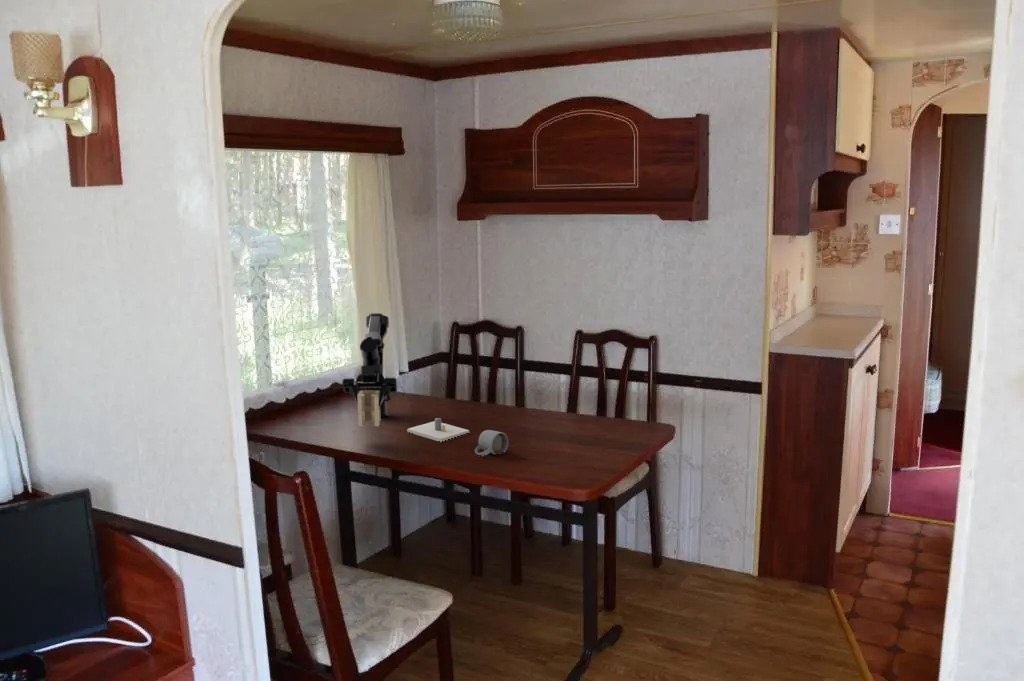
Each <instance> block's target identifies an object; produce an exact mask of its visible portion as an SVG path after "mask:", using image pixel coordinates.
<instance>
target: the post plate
mask: <svg viewBox="0 0 1024 681" xmlns="http://www.w3.org/2000/svg"><path fill="white" fill-rule="evenodd" d="M406 431H407V433H409V432H410V434H412V433H413V435H416V436H419V437H423V438H426V439H429V440H433V441H437V442H439V441H440V443H442V441H443V442H446V441H449V440H448V439H450V440H452V439H451V438H453V439H455V438H454V437H456V438H458V437H457V436H460V435H463V434H466V433H469V434H470V430H469V429H466V428H462V427H458V426H455V425H453V424H448V423H446V422H445V423H443V422H442V418H441V417H436V418H434V421H430V422H427V423H424V424H419V425H416V426H413V427H409V428H407V429H406ZM466 435H467V434H466ZM463 436H464V435H463ZM460 437H461V436H460ZM445 440H446V441H445Z"/></svg>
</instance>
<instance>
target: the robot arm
mask: <svg viewBox="0 0 1024 681" xmlns="http://www.w3.org/2000/svg"><path fill="white" fill-rule="evenodd" d="M365 317H366V318H365V319H366V325H365V326H366V328H367V330H368V331H367V333H366V334H365V335H364V336H363V338H362V339H363V340H361V342H360V344H359V350H360V351H361V352H360V353H361V356H362V359H363V360H362V366H361V369H360V370H361V371H360V372H361V374H360V380H361V381H356V380H355V377H348V378H346V377H345V378H343V379H342V381H341V382H342V383H341V386H342V389H343V393H345V394H346V393H347V394H349V395H353V397H354V400H355V402H356V406H357V407H358V399H357V395H358V393H359V390H358V389H359V388H364V389H365V390H380V398H379V406H380V418H386V416H388V417H389V414H388V413H387V402H390V401H392V393H397V391H398V382H397V378H395V377H385V376H384V348H385V343H384V338H385V337H386V335H387V334H388V328H389V327H390V320H389V316H387V315H384V314H383V313H379V312H377V313H376V312H375V313H374V312H373V313H372V312H371V313H369V314H368V315H367V316H365Z"/></svg>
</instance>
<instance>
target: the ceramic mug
mask: <svg viewBox="0 0 1024 681" xmlns="http://www.w3.org/2000/svg"><path fill="white" fill-rule="evenodd" d="M508 448H509V439H508V436H507V435H506V433H505V432H502V431H498V430H491V429H485V430H484V431H482V432H481V433H480V434H479V435H478V445H477V446H476V447H475V449H474V453H475V455H476V454H477V455H482V456H481V457H485V456H487V455H489V454H493V455H495V454H496V453H494V452H497V451H502V452H504V453H505V452H506V451H507V450H508ZM480 450H483V451H481V452H479V451H480ZM477 455H476V456H477ZM484 455H485V456H484Z"/></svg>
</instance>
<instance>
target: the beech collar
mask: <svg viewBox="0 0 1024 681" xmlns="http://www.w3.org/2000/svg"><path fill="white" fill-rule="evenodd" d="M379 398H380V390H366V389H365V390H363V389H361V390H358V395H357V399H358V406H357V420H358V421H357V422H358V423H357V424H358V426H357V427H366V422H371V426H372V427H380V422H381V421H382V420H381V418H382V417H380V406H379Z"/></svg>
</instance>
